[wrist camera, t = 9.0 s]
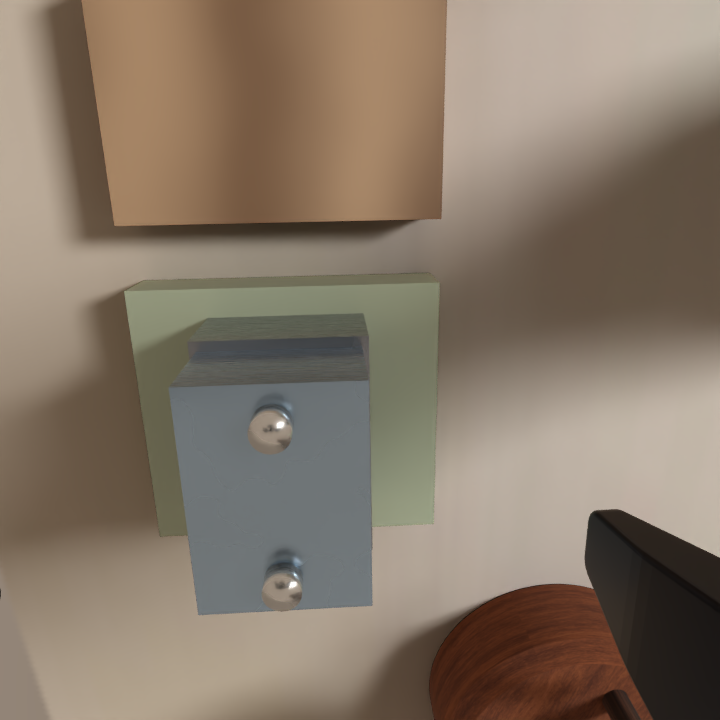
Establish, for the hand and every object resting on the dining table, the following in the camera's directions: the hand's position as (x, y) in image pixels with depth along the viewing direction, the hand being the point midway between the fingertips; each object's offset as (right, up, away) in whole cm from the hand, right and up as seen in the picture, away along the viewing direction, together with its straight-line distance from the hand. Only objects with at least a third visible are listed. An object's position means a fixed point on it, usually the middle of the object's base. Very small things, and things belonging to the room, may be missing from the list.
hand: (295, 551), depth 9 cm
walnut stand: (-2, +11, +10) cm, 15 cm away
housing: (-1, +1, +11) cm, 11 cm away
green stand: (-2, +1, +13) cm, 13 cm away
